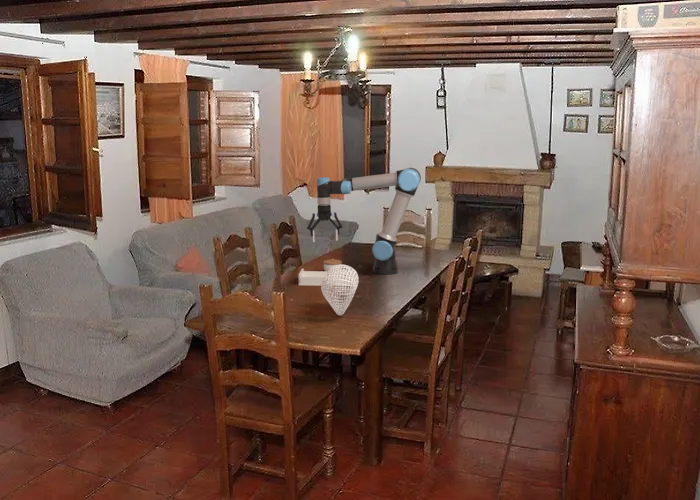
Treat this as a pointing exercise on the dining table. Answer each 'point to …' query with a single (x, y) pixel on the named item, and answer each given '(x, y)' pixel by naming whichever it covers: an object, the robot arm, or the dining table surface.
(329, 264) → the lidded jar
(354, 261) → the dining table surface
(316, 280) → the pusher lane
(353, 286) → the heart
